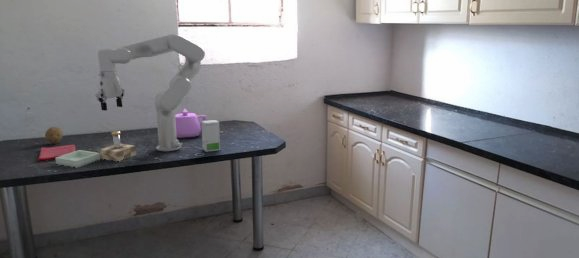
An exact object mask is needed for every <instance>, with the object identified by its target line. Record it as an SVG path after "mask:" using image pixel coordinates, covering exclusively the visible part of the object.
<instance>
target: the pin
mask: <svg viewBox="0 0 579 258" xmlns="http://www.w3.org/2000/svg"><path fill="white" fill-rule="evenodd" d="M121 134H122V133H121V131H120V130H113V131H111V135H112V139H113V145H114V149H120V148H121V144H122V143H121Z"/></svg>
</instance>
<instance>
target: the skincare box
mask: <svg viewBox="0 0 579 258" xmlns="http://www.w3.org/2000/svg"><path fill="white" fill-rule="evenodd" d="M201 123H202V127H201V140H202V141H201V145H202V150H203V151H204V152H207V153H208V152H215V151H220V150H221V138H220V137H221V136H220V133H221V131H220V121H218V120H216V119H213V120H211V119H210V120H206V121H202V120H201ZM201 123H200V124H201Z"/></svg>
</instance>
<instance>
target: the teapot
mask: <svg viewBox="0 0 579 258" xmlns="http://www.w3.org/2000/svg"><path fill="white" fill-rule="evenodd" d="M199 118H200V119H201V118H202V120H201V121H207V119H208V117H207V115H205V114H201V115H197V114H196V113H194V112H189V111H188V109H187V108H184V109H183V111H181V113H175V121H176V134H177V139H183V138H196V137H198V136H199V135H200V133H202V123H200V119H199Z"/></svg>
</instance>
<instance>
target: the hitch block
mask: <svg viewBox="0 0 579 258" xmlns="http://www.w3.org/2000/svg"><path fill="white" fill-rule="evenodd" d="M136 150H137V149H136V145H133V144H126V143H124V144H123V143H121V148H120V149H114V144H111V145H108V146H106V147H103V148H99V153H100V159H101V160H104V159H106V161H111V160H113V162H117V161H119V162H122V161H124V160H127V159H130V158H132V157H134V156H137V151H136ZM129 157H130V158H129ZM126 158H127V159H126ZM123 159H124V160H123ZM121 160H122V161H121Z"/></svg>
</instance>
